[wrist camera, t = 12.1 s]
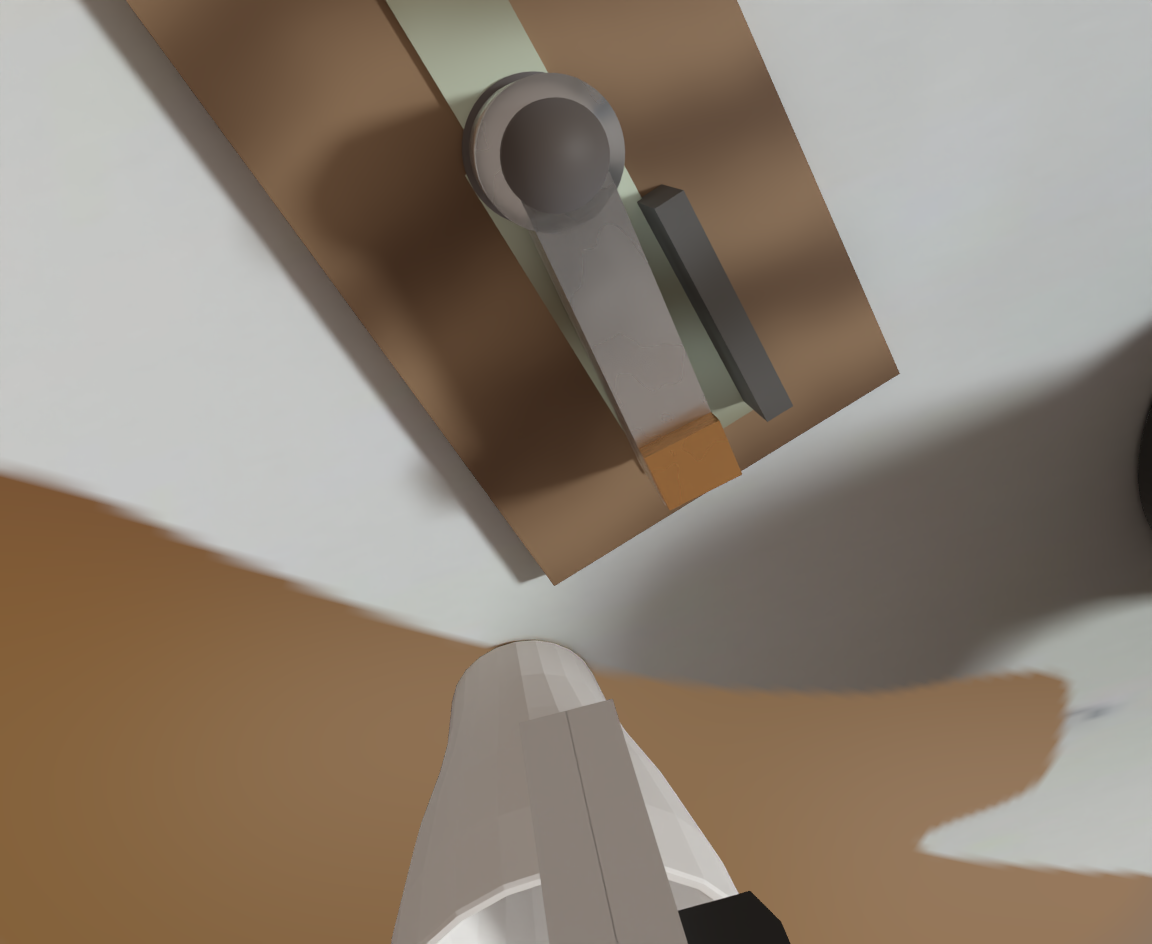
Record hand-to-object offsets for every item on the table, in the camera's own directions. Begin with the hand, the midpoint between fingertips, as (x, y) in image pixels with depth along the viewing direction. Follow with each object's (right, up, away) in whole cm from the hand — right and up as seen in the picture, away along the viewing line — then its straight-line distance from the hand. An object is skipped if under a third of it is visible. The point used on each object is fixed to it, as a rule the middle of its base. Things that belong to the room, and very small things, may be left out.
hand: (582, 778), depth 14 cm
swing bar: (+1, +11, +14) cm, 18 cm away
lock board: (-1, +14, +14) cm, 20 cm away
